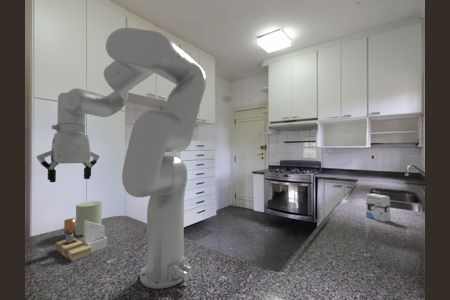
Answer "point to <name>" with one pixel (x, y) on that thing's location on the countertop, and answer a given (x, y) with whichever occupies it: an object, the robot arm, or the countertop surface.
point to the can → (87, 214)
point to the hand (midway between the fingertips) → (70, 180)
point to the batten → (73, 249)
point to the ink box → (378, 207)
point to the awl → (69, 230)
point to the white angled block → (94, 236)
